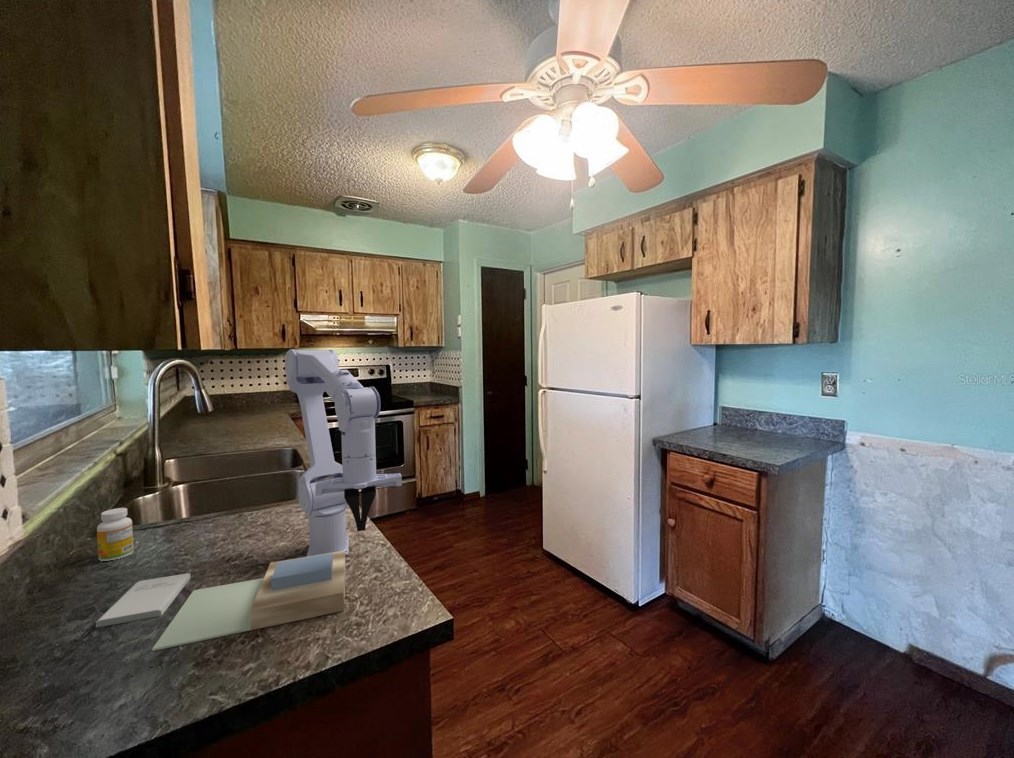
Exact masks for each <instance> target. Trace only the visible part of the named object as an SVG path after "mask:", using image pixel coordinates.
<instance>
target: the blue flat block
mask: <svg viewBox="0 0 1014 758" xmlns="http://www.w3.org/2000/svg"><path fill="white" fill-rule="evenodd" d="M305 557H306V558H302V557H299V558H300V559H296V558H293V559H294V560H290V559H287V560H288V561H284V560H281V561H282V562H278V561H277V562H278V563H277V565H276V568H275V570H274V573H273V576H272V578H271V583H272V591H273V590H278V589H284V588H289V587H295V586H300V585H305V584H311V583H316V582H322V581H327V580H332V571H333V553H331V554H325V555H319V556H313V557H307V556H305Z"/></svg>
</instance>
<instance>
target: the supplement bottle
mask: <svg viewBox="0 0 1014 758" xmlns="http://www.w3.org/2000/svg"><path fill="white" fill-rule="evenodd" d="M128 514H129V513H128V508H127V507H118V508H113V509H112V508H111V509H108V510H105V511H102V512H101V513H100V519H101V520H100V521H102V522H100V523H99V524H98V525H97V527H96V538H97V539H96V541H97V542H96V543H97V556H98V561H99V560H100V561H99V562H102V561H109V560H114V561H116V560H115V559H118V560H121V559H124V558H126V556H127V557H129V556H131V555H132V554H133V553H134V535H133V532H134V531H133V520H132V518H131V517H127V516H128ZM128 555H129V556H128ZM123 557H124V558H123ZM120 558H121V559H120ZM109 562H110V561H109Z"/></svg>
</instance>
